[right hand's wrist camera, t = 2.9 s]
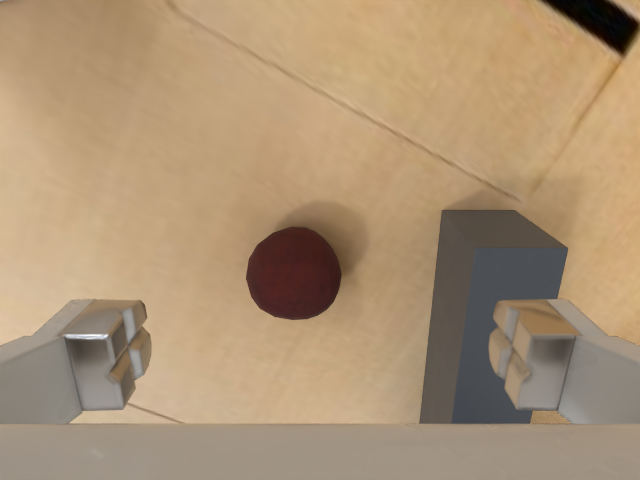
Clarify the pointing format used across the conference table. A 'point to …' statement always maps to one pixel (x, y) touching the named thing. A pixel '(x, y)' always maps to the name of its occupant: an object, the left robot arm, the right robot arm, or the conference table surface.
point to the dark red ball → (293, 274)
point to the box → (481, 310)
